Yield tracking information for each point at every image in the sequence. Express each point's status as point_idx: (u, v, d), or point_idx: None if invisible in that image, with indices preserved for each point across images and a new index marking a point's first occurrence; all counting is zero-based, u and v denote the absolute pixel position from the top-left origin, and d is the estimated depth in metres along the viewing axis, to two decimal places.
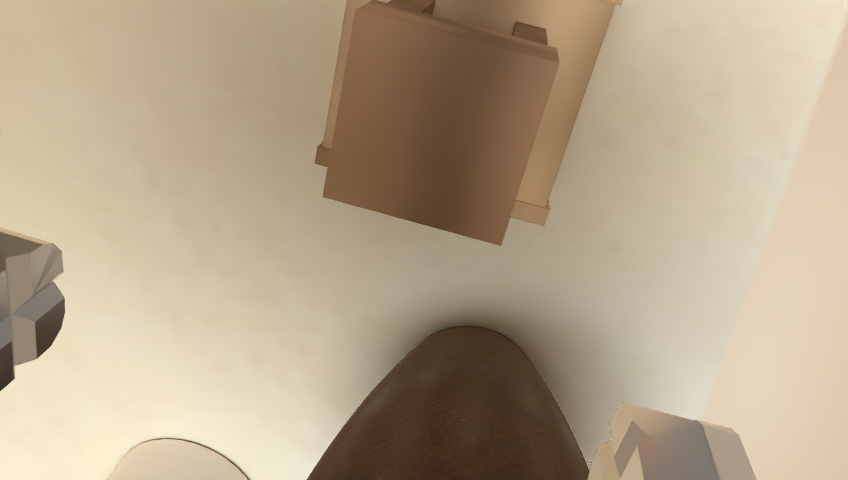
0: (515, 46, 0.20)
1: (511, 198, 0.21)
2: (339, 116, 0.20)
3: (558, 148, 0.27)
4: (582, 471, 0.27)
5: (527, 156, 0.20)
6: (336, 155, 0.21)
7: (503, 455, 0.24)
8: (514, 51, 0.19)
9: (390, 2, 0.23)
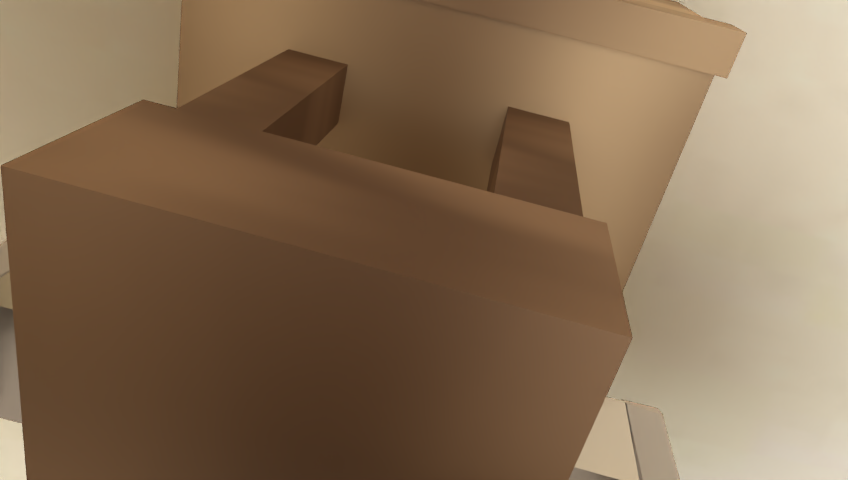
0: (496, 259, 0.07)
1: None
2: (30, 422, 0.08)
3: None
4: None
5: None
6: None
7: None
8: (490, 297, 0.06)
9: (215, 91, 0.10)
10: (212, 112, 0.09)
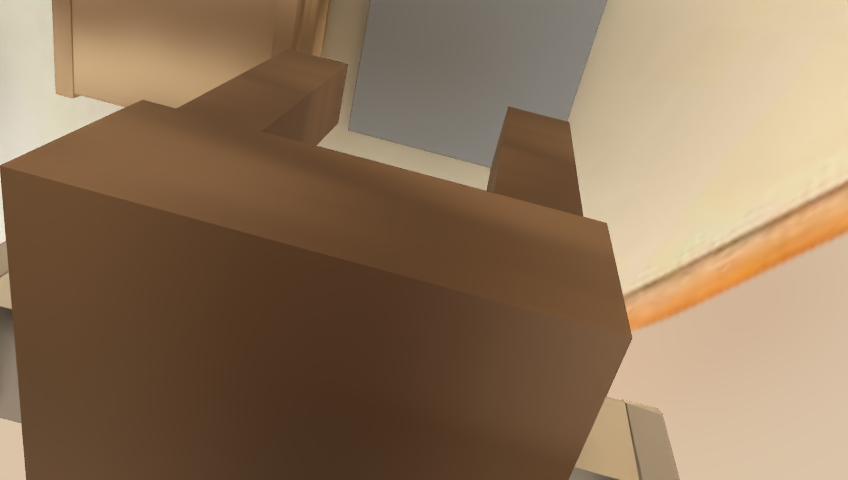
0: (495, 259, 0.07)
1: None
2: (29, 423, 0.08)
3: (132, 103, 0.29)
4: None
5: None
6: None
7: None
8: (489, 298, 0.06)
9: (215, 91, 0.10)
10: (211, 112, 0.09)
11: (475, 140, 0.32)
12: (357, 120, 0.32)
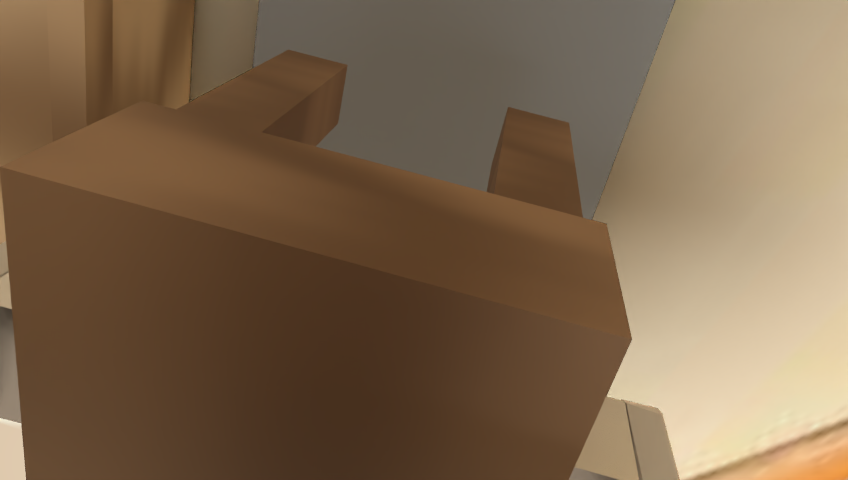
0: (495, 260, 0.07)
1: None
2: (28, 423, 0.08)
3: None
4: None
5: None
6: None
7: None
8: (489, 299, 0.06)
9: (214, 92, 0.10)
10: (211, 113, 0.09)
11: None
12: None
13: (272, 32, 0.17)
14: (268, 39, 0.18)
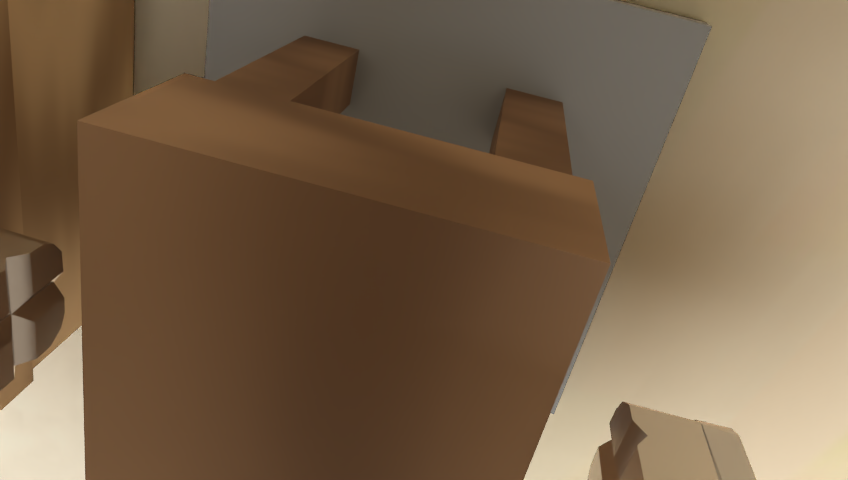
0: (495, 203, 0.08)
1: None
2: (88, 352, 0.09)
3: None
4: None
5: (527, 455, 0.08)
6: (97, 426, 0.09)
7: None
8: (490, 230, 0.07)
9: (243, 69, 0.11)
10: (243, 86, 0.10)
11: None
12: None
13: (224, 66, 0.15)
14: (220, 74, 0.15)
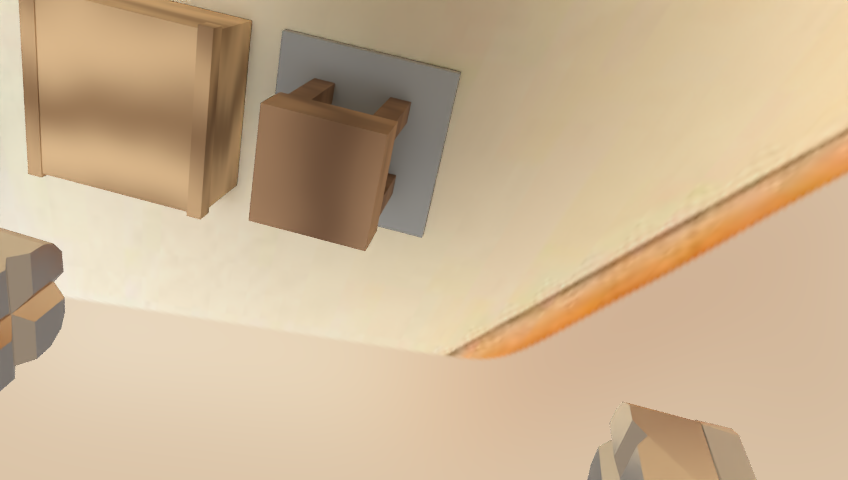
0: (363, 123, 0.31)
1: (368, 219, 0.32)
2: (255, 168, 0.32)
3: (87, 180, 0.37)
4: None
5: (375, 192, 0.31)
6: (255, 193, 0.32)
7: None
8: (359, 128, 0.30)
9: (295, 90, 0.34)
10: (296, 95, 0.33)
11: None
12: None
13: (283, 89, 0.38)
14: None
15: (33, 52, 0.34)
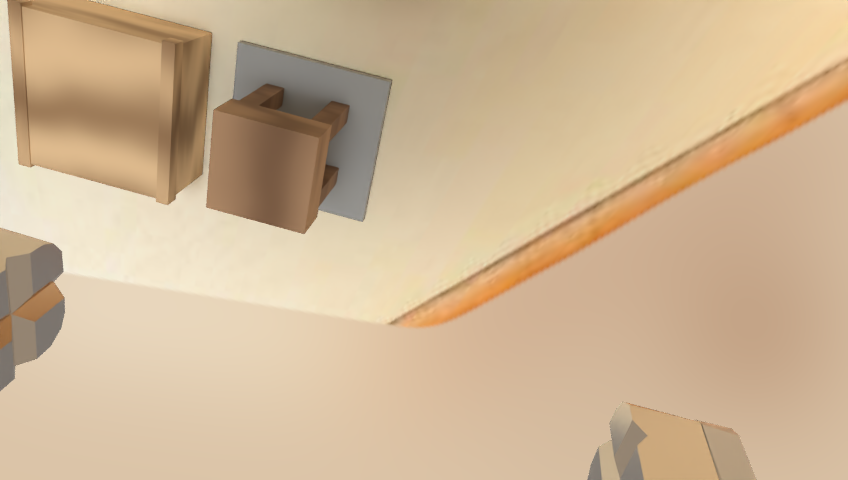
0: (300, 127, 0.37)
1: (305, 207, 0.38)
2: (210, 164, 0.38)
3: (70, 170, 0.43)
4: None
5: (310, 185, 0.37)
6: (211, 184, 0.38)
7: None
8: (296, 131, 0.36)
9: (246, 96, 0.40)
10: (246, 101, 0.39)
11: None
12: None
13: (240, 93, 0.44)
14: (238, 95, 0.44)
15: (21, 61, 0.40)
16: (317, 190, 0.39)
